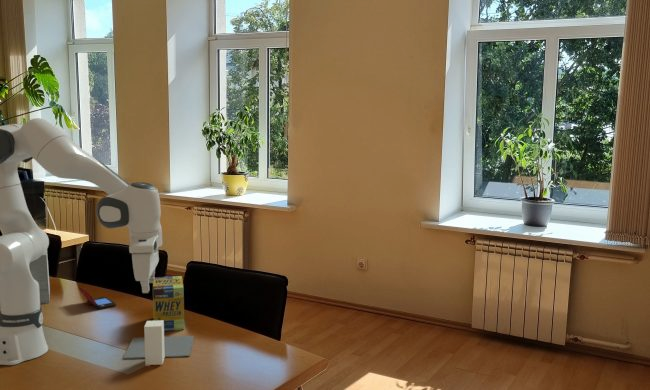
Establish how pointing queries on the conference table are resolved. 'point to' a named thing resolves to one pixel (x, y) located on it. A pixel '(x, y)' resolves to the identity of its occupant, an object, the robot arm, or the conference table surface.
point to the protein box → (169, 302)
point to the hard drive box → (41, 276)
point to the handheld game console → (98, 301)
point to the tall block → (154, 342)
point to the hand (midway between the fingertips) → (148, 287)
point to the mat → (171, 346)
